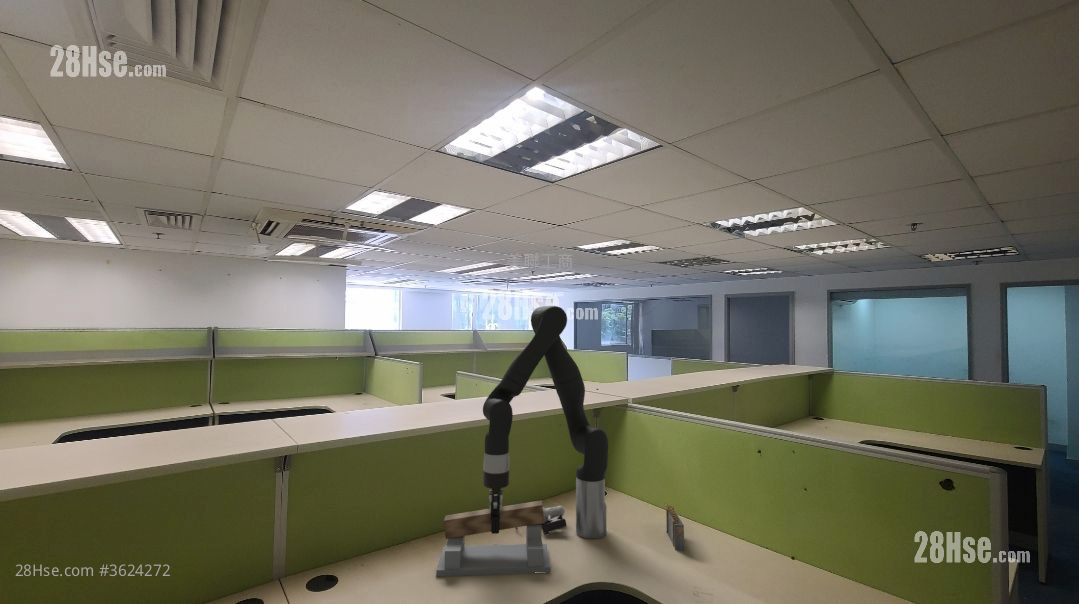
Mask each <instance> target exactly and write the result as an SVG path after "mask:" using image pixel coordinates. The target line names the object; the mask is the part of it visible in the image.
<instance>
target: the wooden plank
mask: <svg viewBox="0 0 1079 604" xmlns="http://www.w3.org/2000/svg"><path fill="white" fill-rule="evenodd" d="M542 502H543V501H542V500H535V501H529V502H522V503H516V504H511V505H502V510H501V511H500V520H499V531H502V530H503V531H504V530H509V529H514V528H515V529H517V528H522V527H526V526H528V525H535V524H541V523H545V522H544V514H543V508H544V507H543V503H542ZM493 515H498V514H493ZM490 517H491V511H490V508H484V509H479V510H478V509H477V510H473V511H472V510H471V511H465V512H460V513H453V514H447V515H445V516H444V519H443V525H444V527H443V528H444V535H445V539H446V540H447V539H449V538H455V537H461V536H465V537H466V536H471V535H478V534H484V533H490V532H491V522H492V520H491V519H490ZM516 527H517V528H516Z"/></svg>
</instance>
